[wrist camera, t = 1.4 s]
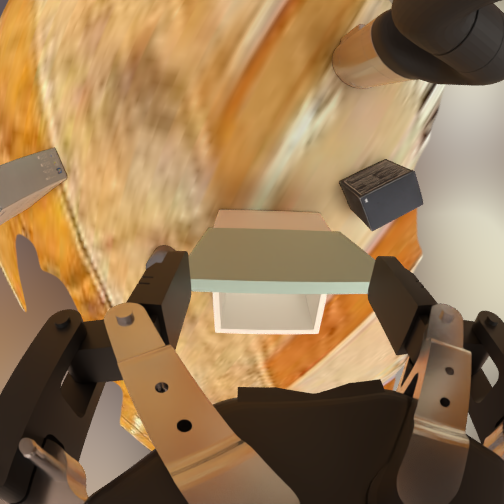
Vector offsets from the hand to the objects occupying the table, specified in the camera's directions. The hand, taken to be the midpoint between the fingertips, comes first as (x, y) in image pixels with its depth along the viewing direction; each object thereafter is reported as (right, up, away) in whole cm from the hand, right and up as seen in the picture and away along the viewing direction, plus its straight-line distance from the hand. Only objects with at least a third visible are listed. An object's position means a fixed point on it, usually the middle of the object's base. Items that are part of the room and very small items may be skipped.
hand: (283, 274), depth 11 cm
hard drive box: (-47, +17, +35) cm, 61 cm away
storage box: (+2, 0, +43) cm, 43 cm away
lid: (+2, 0, +18) cm, 18 cm away
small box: (+20, +13, +36) cm, 43 cm away
